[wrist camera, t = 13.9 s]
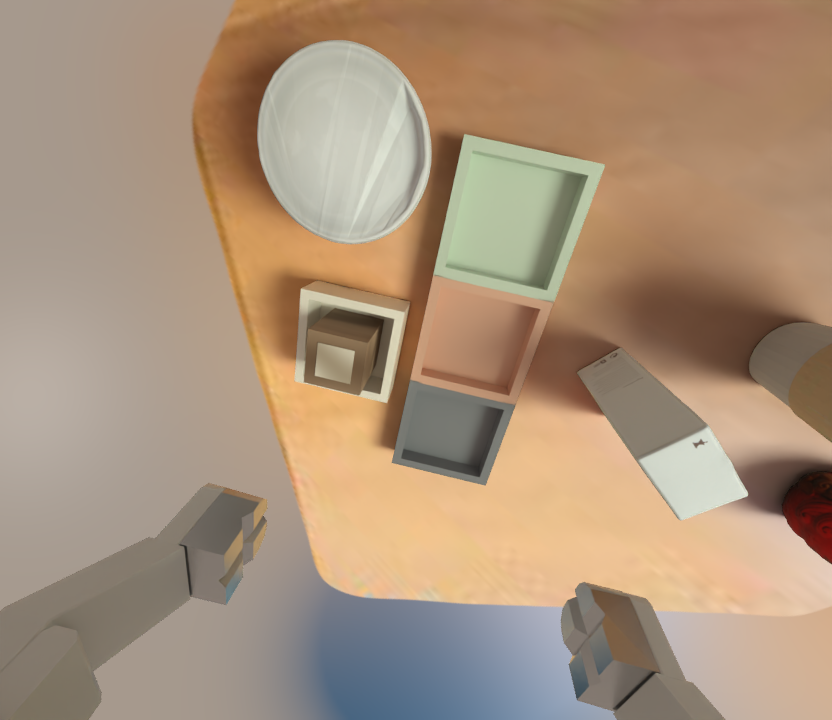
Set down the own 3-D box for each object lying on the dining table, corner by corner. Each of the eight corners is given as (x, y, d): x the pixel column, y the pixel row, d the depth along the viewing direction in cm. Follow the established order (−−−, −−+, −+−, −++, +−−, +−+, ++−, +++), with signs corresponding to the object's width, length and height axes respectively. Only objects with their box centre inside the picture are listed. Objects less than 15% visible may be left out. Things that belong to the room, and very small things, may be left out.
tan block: (334, 307, 31) (306, 328, 26) (384, 319, 31) (367, 343, 26) (328, 353, 33) (302, 382, 27) (376, 364, 33) (359, 396, 27)
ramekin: (441, 230, 28) (437, 235, 23) (310, 245, 30) (281, 252, 25) (428, 57, 24) (420, 19, 19) (276, 85, 26) (233, 57, 21)
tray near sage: (464, 139, 26) (464, 134, 24) (594, 167, 25) (605, 164, 23) (434, 271, 29) (433, 275, 28) (547, 296, 29) (553, 302, 27)
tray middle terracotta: (435, 270, 29) (433, 274, 28) (548, 295, 29) (554, 301, 27) (412, 371, 33) (409, 380, 31) (512, 394, 33) (515, 405, 31)
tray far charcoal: (412, 370, 33) (410, 379, 31) (512, 393, 33) (515, 404, 31) (395, 450, 37) (391, 462, 35) (484, 471, 37) (485, 485, 35)
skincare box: (574, 371, 31) (634, 458, 21) (620, 345, 30) (711, 423, 19) (607, 419, 33) (680, 524, 22) (652, 396, 32) (754, 496, 21)
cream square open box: (317, 280, 31) (300, 288, 28) (410, 301, 31) (404, 312, 27) (310, 365, 34) (294, 381, 31) (393, 384, 34) (386, 403, 31)
